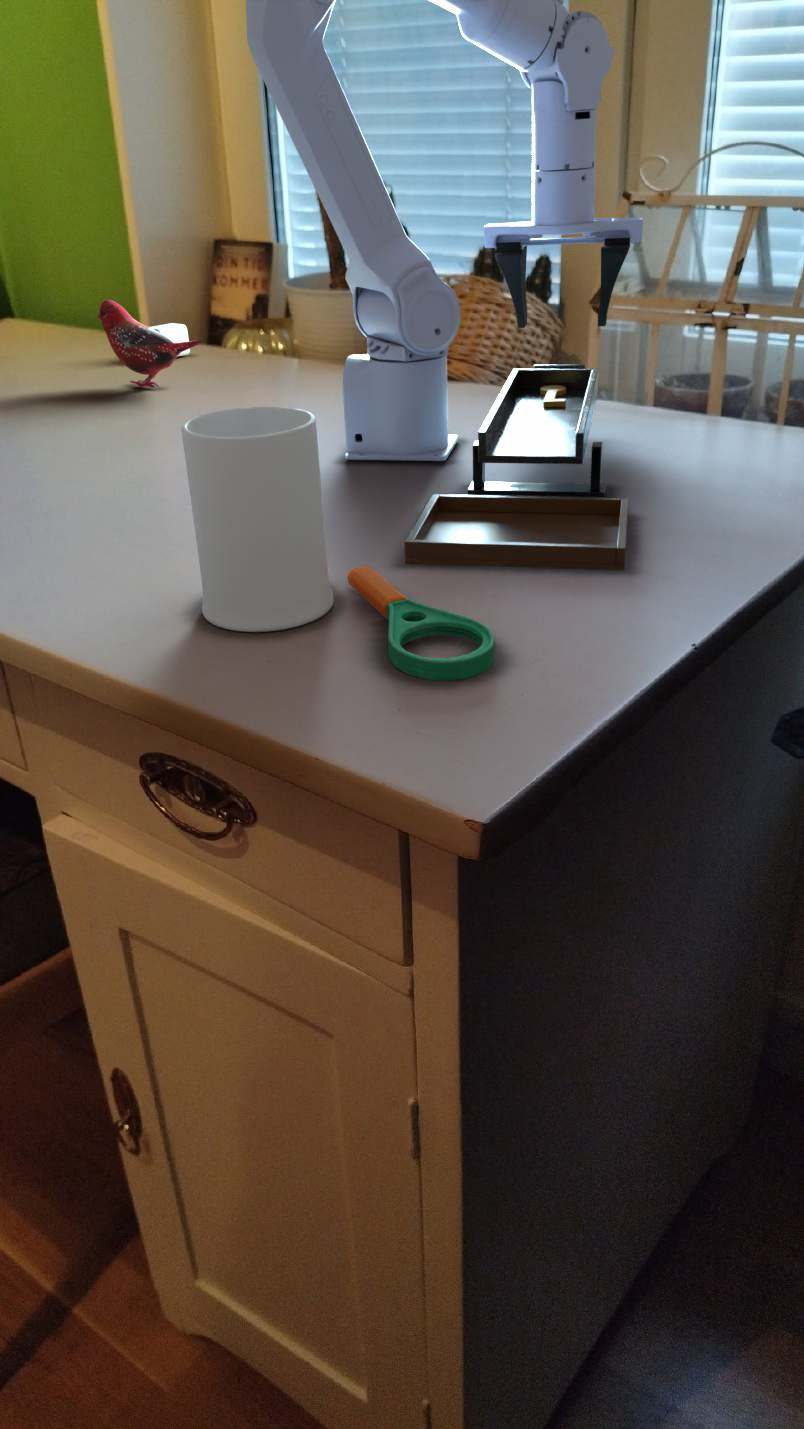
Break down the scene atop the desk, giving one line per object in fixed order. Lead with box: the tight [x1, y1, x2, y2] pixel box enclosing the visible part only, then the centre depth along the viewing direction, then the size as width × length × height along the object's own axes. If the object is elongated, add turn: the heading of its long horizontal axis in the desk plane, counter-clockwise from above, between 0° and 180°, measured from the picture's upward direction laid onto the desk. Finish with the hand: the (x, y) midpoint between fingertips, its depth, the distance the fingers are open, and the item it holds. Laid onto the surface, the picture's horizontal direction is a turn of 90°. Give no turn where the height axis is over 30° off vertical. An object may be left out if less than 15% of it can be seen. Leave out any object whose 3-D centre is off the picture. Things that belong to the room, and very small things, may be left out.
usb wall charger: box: [149, 322, 191, 358], centre depth 151 cm, size 4×7×4 cm, turn 136°
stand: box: [467, 440, 607, 498], centre depth 90 cm, size 11×2×4 cm, turn 79°
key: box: [540, 385, 566, 407], centre depth 101 cm, size 3×7×1 cm, turn 169°
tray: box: [404, 493, 630, 571], centre depth 81 cm, size 15×11×2 cm
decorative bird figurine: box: [97, 299, 203, 388], centre depth 132 cm, size 3×18×10 cm, turn 54°
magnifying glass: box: [347, 565, 496, 682], centre depth 67 cm, size 15×6×2 cm, turn 25°
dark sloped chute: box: [477, 363, 599, 465], centre depth 96 cm, size 8×30×2 cm, turn 169°
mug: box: [180, 406, 335, 633], centre depth 70 cm, size 12×8×12 cm
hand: (561, 325), depth 106 cm, fingers open, 7 cm apart
